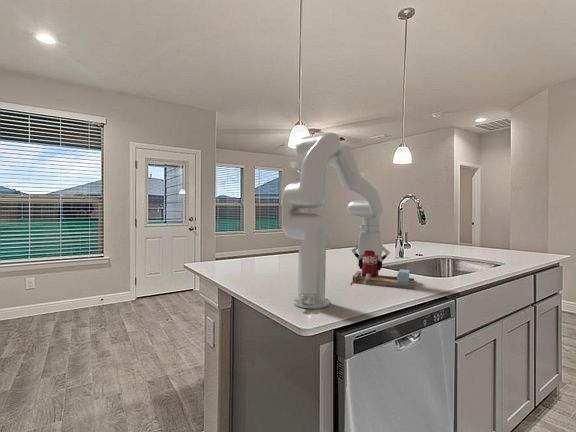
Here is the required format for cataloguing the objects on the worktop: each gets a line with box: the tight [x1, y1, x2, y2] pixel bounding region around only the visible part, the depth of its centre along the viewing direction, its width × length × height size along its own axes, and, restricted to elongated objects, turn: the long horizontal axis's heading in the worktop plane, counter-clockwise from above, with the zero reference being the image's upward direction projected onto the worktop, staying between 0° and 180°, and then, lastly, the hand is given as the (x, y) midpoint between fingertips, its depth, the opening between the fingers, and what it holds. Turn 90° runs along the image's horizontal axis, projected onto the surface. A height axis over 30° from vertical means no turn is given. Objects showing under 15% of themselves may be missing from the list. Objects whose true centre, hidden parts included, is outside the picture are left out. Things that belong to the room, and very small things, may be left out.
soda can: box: [361, 250, 380, 278], centre depth 139 cm, size 7×7×12 cm
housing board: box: [350, 270, 418, 291], centre depth 137 cm, size 16×26×5 cm, turn 68°
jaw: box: [396, 269, 410, 286], centre depth 134 cm, size 11×4×5 cm, turn 158°
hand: (370, 268), depth 139 cm, fingers closed on soda can, 7 cm apart
